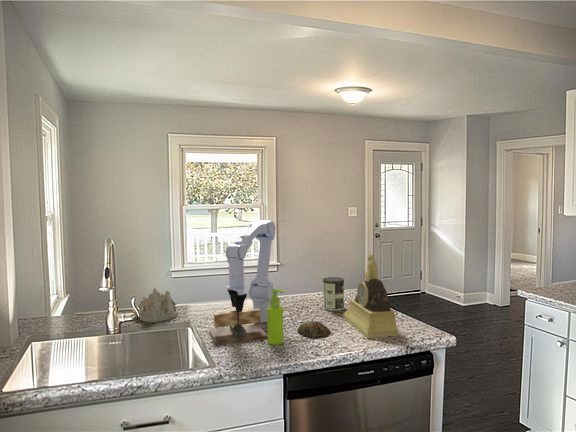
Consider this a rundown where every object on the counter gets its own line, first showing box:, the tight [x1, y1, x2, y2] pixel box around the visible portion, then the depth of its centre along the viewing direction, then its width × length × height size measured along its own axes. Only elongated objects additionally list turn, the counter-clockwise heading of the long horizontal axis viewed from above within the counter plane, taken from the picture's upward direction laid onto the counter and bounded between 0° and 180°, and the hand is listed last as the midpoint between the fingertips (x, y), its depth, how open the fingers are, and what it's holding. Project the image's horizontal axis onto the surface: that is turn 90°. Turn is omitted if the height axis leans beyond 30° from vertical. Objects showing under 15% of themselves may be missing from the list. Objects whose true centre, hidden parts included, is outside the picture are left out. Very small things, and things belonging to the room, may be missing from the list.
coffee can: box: [322, 276, 345, 312], centre depth 208 cm, size 10×10×14 cm
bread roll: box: [297, 320, 332, 339], centre depth 172 cm, size 13×12×5 cm
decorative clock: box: [342, 253, 399, 339], centre depth 179 cm, size 28×13×30 cm, turn 12°
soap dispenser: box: [266, 288, 286, 346], centre depth 161 cm, size 6×7×20 cm
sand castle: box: [138, 287, 179, 323], centre depth 198 cm, size 16×16×15 cm
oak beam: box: [213, 308, 261, 329], centre depth 170 cm, size 18×3×5 cm, turn 109°
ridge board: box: [209, 323, 268, 346], centre depth 170 cm, size 20×15×4 cm
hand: (237, 309), depth 170 cm, fingers open, 7 cm apart
